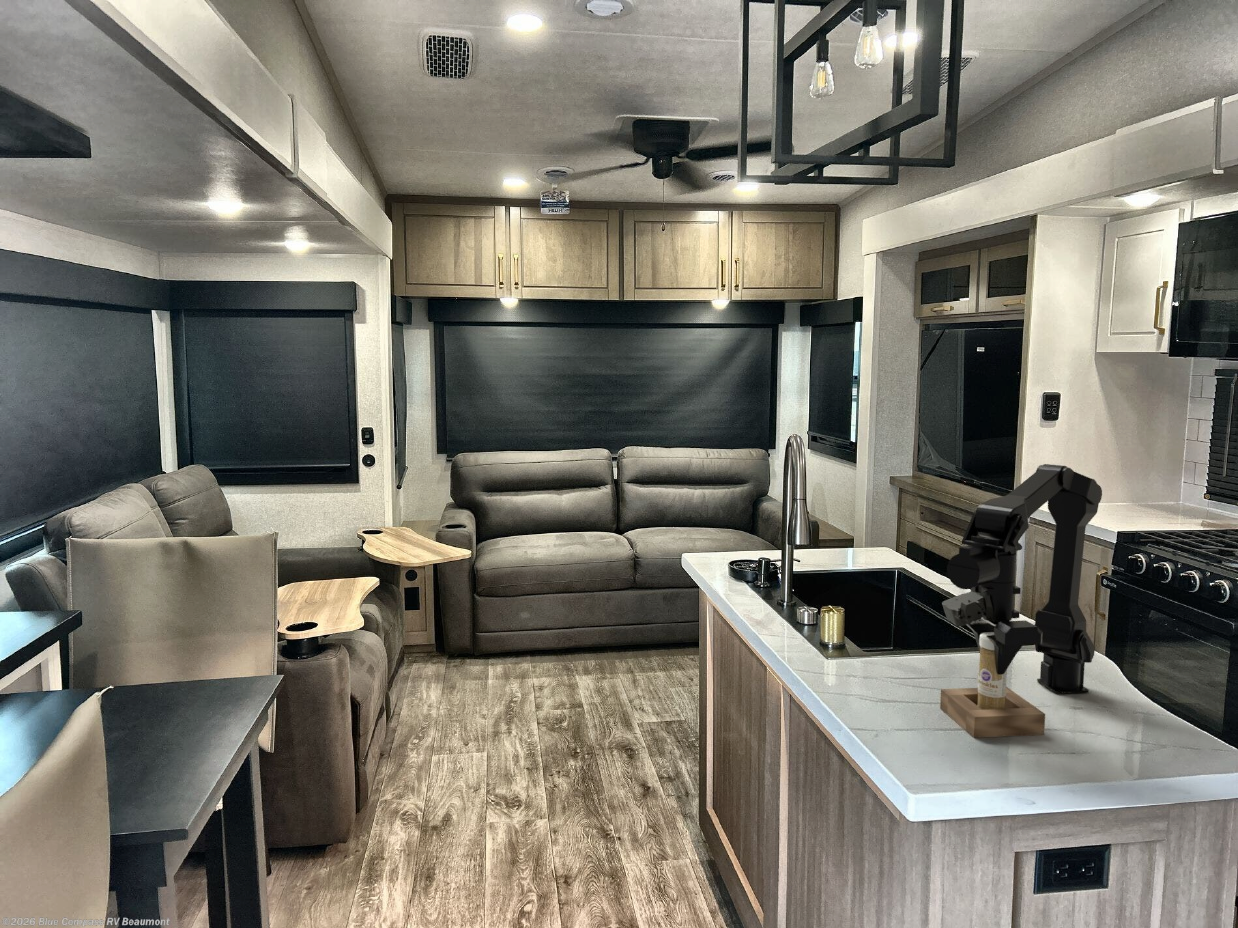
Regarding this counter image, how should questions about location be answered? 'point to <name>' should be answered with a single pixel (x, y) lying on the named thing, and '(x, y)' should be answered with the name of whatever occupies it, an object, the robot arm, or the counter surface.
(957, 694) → the socket block
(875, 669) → the counter surface
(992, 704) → the sprinkles bottle
